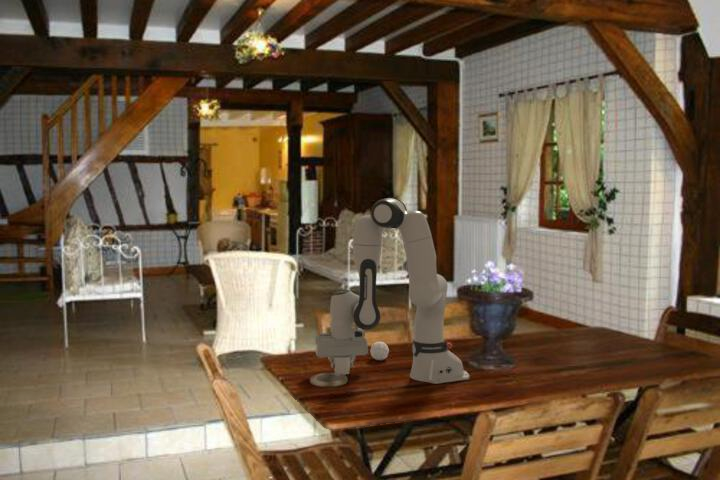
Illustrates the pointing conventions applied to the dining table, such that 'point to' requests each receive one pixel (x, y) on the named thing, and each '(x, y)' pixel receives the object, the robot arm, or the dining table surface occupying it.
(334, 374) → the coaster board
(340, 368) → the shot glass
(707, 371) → the dining table surface
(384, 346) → the geometric ball
